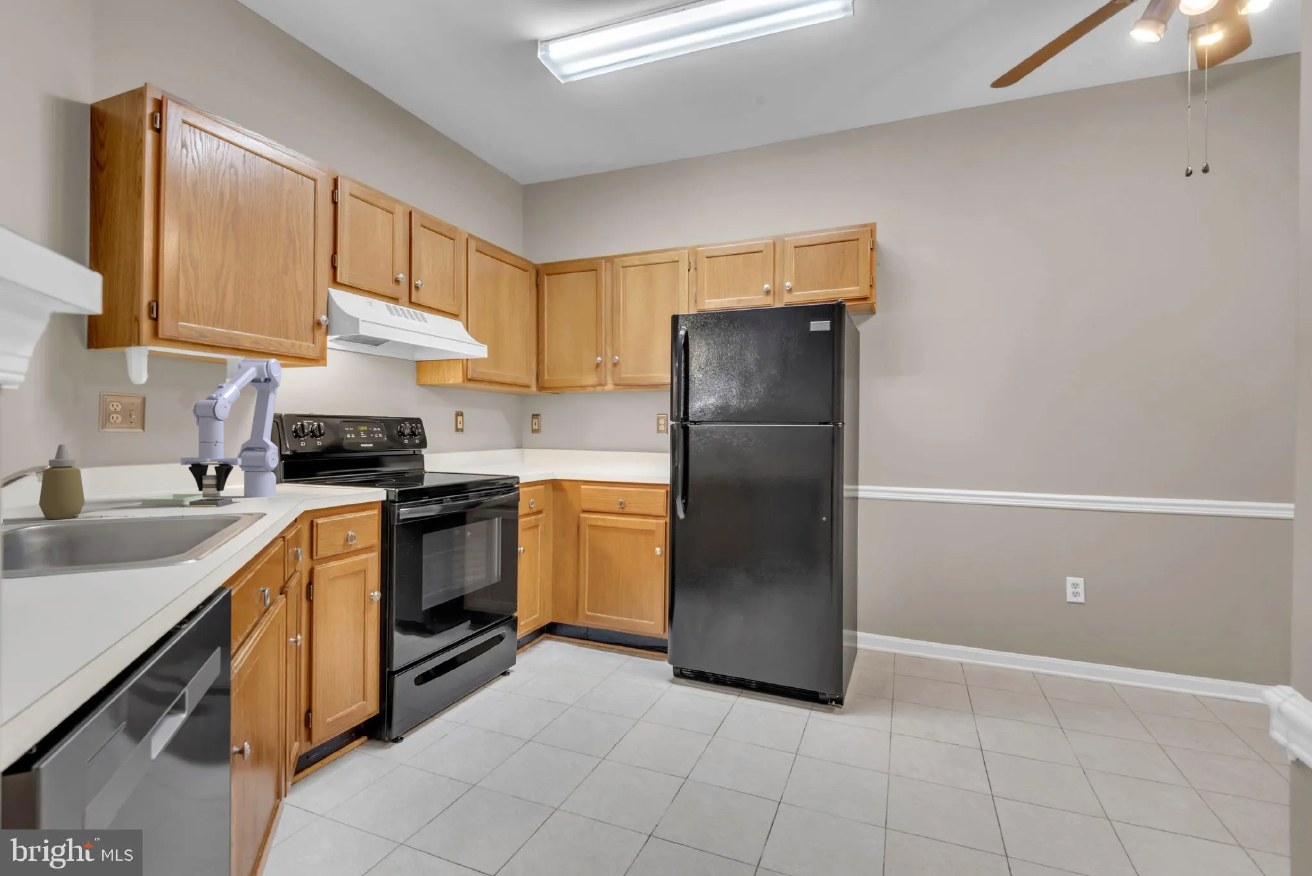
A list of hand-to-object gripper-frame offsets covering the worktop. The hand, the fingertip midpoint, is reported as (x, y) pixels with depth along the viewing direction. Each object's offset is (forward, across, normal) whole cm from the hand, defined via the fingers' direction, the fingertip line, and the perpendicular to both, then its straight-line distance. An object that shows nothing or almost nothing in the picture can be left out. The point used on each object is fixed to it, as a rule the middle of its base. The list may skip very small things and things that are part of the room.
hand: (211, 490), depth 172 cm
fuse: (+2, 0, 0) cm, 2 cm away
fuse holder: (+5, 0, 0) cm, 5 cm away
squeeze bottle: (+5, -24, -18) cm, 30 cm away
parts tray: (+5, -12, +6) cm, 14 cm away
